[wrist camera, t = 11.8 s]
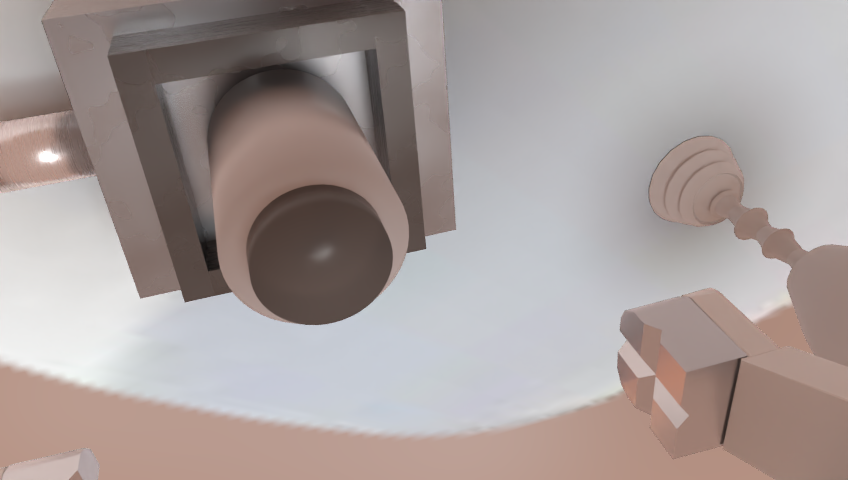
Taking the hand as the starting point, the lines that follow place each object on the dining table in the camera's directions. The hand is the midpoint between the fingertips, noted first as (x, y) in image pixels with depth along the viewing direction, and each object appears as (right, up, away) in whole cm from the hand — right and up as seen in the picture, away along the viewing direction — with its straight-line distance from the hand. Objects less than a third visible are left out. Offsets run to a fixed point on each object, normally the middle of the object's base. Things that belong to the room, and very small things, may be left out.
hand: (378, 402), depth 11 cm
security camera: (-4, +6, +14) cm, 15 cm away
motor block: (-8, +8, +18) cm, 21 cm away
